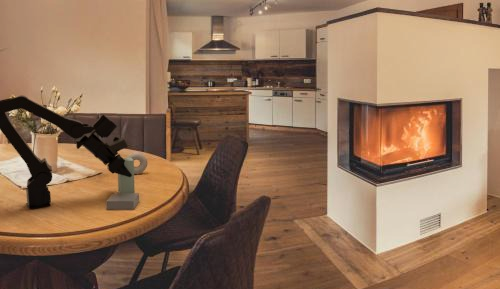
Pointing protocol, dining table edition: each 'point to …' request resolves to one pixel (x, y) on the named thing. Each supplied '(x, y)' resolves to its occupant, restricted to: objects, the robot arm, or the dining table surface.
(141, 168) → the donut
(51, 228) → the dining table surface
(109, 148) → the robot arm
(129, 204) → the slate plinth
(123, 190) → the sage green block
